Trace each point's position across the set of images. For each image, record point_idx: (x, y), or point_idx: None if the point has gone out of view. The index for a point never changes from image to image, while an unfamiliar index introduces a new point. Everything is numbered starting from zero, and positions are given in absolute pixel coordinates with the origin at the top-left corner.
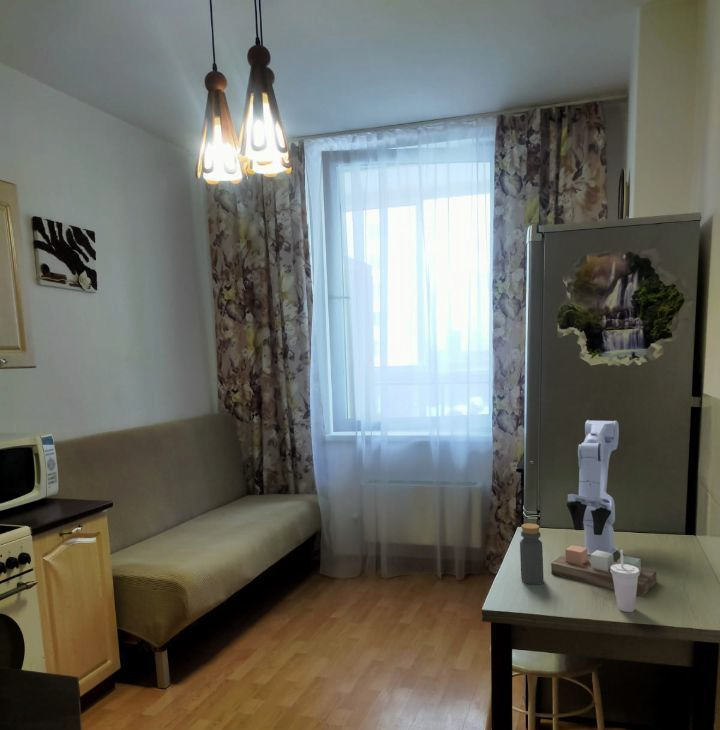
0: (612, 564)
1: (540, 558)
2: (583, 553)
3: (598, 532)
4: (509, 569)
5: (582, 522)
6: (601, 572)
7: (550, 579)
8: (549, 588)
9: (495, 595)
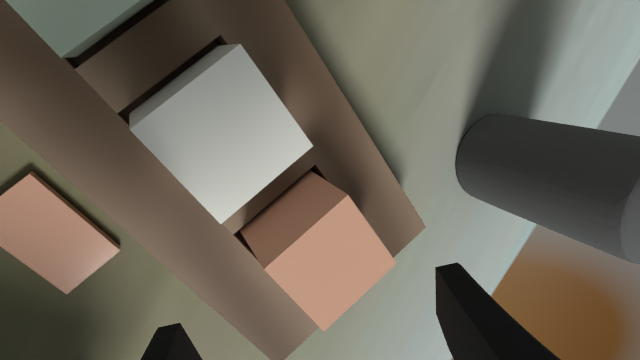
0: (146, 104)
1: (579, 137)
2: (311, 215)
3: (184, 354)
4: (497, 269)
5: (483, 318)
6: (269, 36)
7: (429, 152)
8: (479, 66)
9: (631, 65)
